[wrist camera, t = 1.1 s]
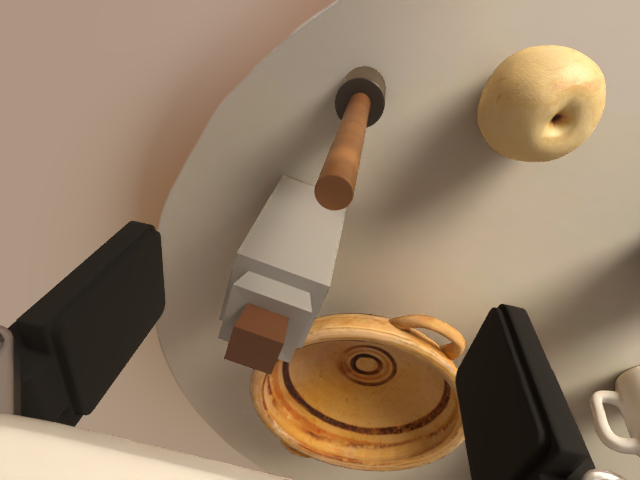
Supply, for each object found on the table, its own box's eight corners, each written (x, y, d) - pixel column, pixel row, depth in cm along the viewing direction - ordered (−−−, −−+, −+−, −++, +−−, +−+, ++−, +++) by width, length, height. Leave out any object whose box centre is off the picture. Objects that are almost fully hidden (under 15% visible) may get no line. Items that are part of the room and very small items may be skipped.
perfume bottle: (348, 199, 38) (320, 335, 23) (326, 252, 42) (288, 398, 27) (282, 174, 38) (210, 296, 23) (266, 230, 41) (194, 365, 26)
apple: (476, 37, 29) (570, 19, 22) (549, 67, 32) (652, 60, 25) (443, 143, 31) (521, 157, 24) (515, 162, 34) (601, 179, 27)
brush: (346, 62, 32) (296, 141, 15) (390, 71, 31) (389, 161, 15) (338, 106, 34) (285, 221, 17) (379, 115, 33) (367, 240, 17)
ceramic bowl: (369, 442, 59) (367, 500, 52) (229, 368, 55) (207, 421, 48) (528, 337, 44) (552, 400, 37) (350, 222, 39) (341, 270, 33)
